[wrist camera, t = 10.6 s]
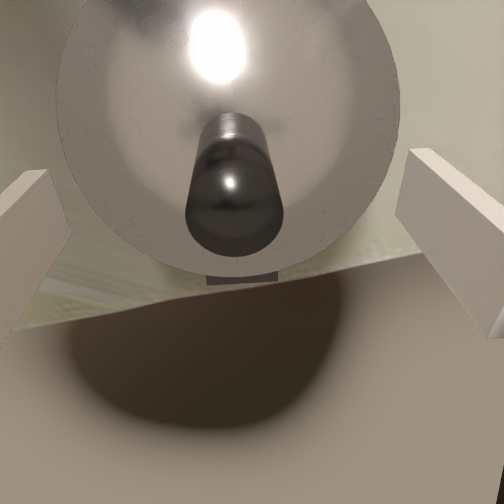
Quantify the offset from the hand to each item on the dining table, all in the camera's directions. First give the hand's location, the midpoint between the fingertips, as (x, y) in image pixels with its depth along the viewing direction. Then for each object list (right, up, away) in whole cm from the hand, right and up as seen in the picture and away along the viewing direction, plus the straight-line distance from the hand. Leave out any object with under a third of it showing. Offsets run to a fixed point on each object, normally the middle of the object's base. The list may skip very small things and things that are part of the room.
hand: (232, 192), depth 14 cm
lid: (0, +4, +7) cm, 8 cm away
